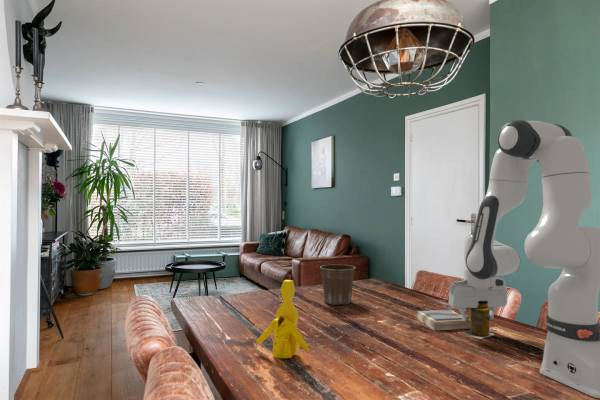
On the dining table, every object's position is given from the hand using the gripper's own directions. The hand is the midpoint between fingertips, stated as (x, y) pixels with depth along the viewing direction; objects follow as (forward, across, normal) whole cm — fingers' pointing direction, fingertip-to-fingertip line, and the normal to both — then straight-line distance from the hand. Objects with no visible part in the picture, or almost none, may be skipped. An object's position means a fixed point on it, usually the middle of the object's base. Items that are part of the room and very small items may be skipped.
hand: (477, 320), depth 138 cm
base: (+5, -6, +13) cm, 15 cm away
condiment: (+5, 0, 0) cm, 5 cm away
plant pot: (+5, -37, +50) cm, 62 cm away
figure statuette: (+5, -68, -8) cm, 69 cm away
